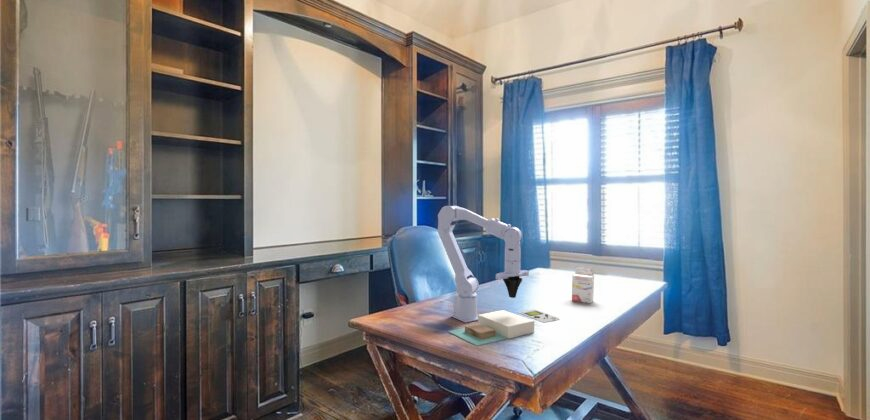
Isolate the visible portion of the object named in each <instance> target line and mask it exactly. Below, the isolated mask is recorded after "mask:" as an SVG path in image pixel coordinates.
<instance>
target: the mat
mask: <svg viewBox="0 0 870 420" xmlns="http://www.w3.org/2000/svg"><path fill="white" fill-rule="evenodd" d="M448 333H449V334H452V335H453V336H456V337H458V338H460V339H462V340H463V341H466V342H468V343H470V344H472V345H474V346H476V347H479V346H480V347H481V346H484V345H488V344H492V343H496V342H501V341H504V340H508V337H505V336H503V335H501V334H498V333H496V334H495V336H494V337H490V338H486V339H479V338H477V337H475V336H473V335H471V334H468V333H466V332H465V327H462V328H458V329H453V330H448Z"/></svg>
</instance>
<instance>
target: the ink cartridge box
mask: <svg viewBox="0 0 870 420" xmlns="http://www.w3.org/2000/svg"><path fill="white" fill-rule="evenodd" d="M574 271H575V272H574V274H572V277H571V279H572V282H571V286H572V287H571V301H572V302H573V301H574V302H580V303H585V302H587V303H586V304H592V303H593V302H594V286H595V285H594V283H595V281H594V280H595V275H594V269H593V268H588V267H578V266H576V267H575V268H574ZM592 301H593V302H592Z"/></svg>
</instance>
